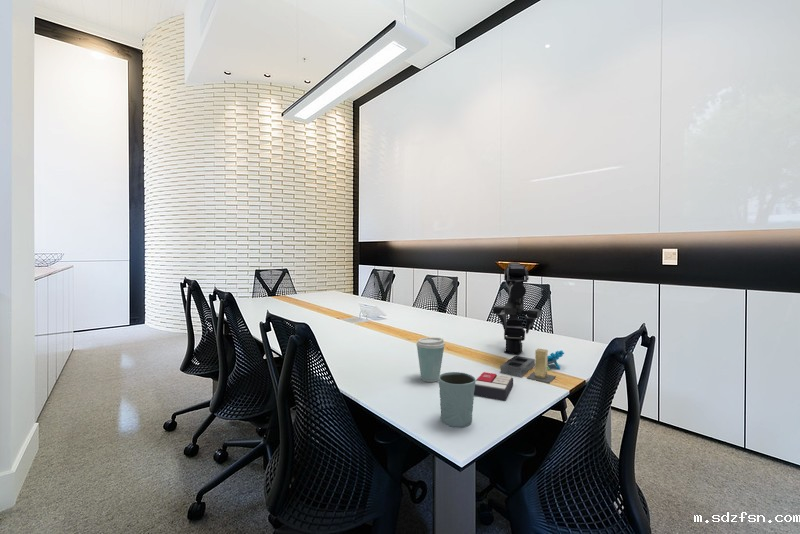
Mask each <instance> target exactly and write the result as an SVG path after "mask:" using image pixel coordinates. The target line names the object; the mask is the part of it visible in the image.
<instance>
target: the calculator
mask: <svg viewBox="0 0 800 534" xmlns="http://www.w3.org/2000/svg"><path fill="white" fill-rule="evenodd" d="M475 380H476V382H475V390H474V397H475V396H476V397H482V398H485V399H486V398H487V399H493V400H498V401H503V402H505V401H507V400H508V398H509V395H510V392H511V390H512V389H513V387H514V377H513V375H507V374H501V373H500V374H497V373H492V372H486V371H484V372H482V373H481V374H480V375H479V376H478V377H477V379H475Z"/></svg>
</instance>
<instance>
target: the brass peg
mask: <svg viewBox="0 0 800 534" xmlns="http://www.w3.org/2000/svg"><path fill="white" fill-rule="evenodd" d="M548 351H549V350H548V349H544V348H536V349H535V353H534V355H535V357H534V359H535V367H534V372H535V377H537V378H541V379H545V378H546V377H547V375H548V369H547V358H548V356H549V355H548Z"/></svg>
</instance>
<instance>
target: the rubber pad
mask: <svg viewBox="0 0 800 534" xmlns="http://www.w3.org/2000/svg"><path fill="white" fill-rule="evenodd" d="M556 377H557V376H556V375H552V374H547V377H546V378H545V379H541V378H537V377H535V371H533V372H532V373H530V374H529V375H528V376H526V379H527V380H531V381H535V380H536V381H535V382H541V383H546V384H550V382H553V380H554V379H556Z"/></svg>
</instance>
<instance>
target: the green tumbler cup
mask: <svg viewBox="0 0 800 534" xmlns="http://www.w3.org/2000/svg"><path fill="white" fill-rule="evenodd" d="M476 380H477V379H476V378H475V376H473V375H472V374H469V373H466V372H459V371H449V372H443V373H440V376H439V379H438V388H439V389H438V390H439V398H440V400H439V401H440V402H439V404H440V419H441V422H442V423H443V425H446V426H448V427H450V428H457V429H459V428H460V429H462V428H466V427H469V426H470V425H471V424H472V422H473V411H474V400H475V399H474V398H475V395H474V390H475V382H476Z"/></svg>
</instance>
